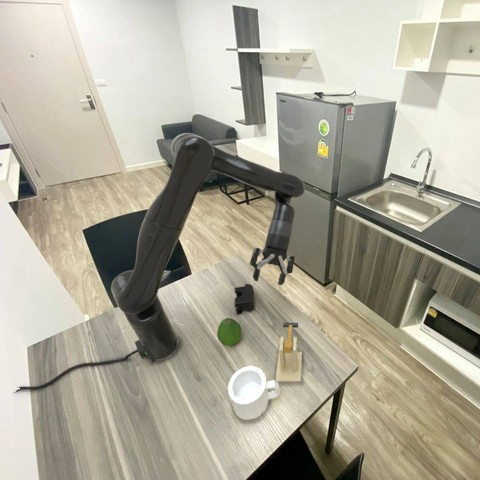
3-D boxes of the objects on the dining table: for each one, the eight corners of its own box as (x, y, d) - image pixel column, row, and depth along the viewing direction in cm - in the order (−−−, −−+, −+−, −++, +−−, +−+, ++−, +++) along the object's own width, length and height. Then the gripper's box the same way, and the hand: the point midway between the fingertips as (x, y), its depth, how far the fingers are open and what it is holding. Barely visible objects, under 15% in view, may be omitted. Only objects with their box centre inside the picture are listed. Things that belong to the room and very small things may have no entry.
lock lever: (283, 326, 91) (283, 320, 90) (298, 326, 91) (298, 320, 90) (279, 353, 79) (279, 346, 79) (296, 353, 80) (296, 347, 79)
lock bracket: (278, 353, 91) (276, 328, 83) (302, 353, 92) (302, 329, 84) (275, 382, 83) (272, 359, 75) (300, 382, 84) (300, 359, 75)
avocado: (226, 355, 90) (220, 334, 83) (216, 339, 94) (209, 318, 87) (247, 342, 94) (243, 321, 87) (237, 327, 99) (232, 306, 92)
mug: (278, 378, 84) (276, 360, 78) (281, 413, 76) (280, 396, 70) (234, 387, 81) (228, 369, 75) (233, 425, 73) (226, 408, 67)
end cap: (255, 312, 105) (253, 300, 101) (236, 315, 103) (234, 303, 99) (254, 293, 113) (252, 282, 109) (236, 296, 111) (234, 285, 107)
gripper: (262, 229, 81) (250, 281, 80) (302, 240, 88) (292, 287, 87) (255, 229, 88) (243, 277, 86) (293, 239, 95) (283, 284, 93)
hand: (268, 282), depth 86 cm, fingers open, 8 cm apart
